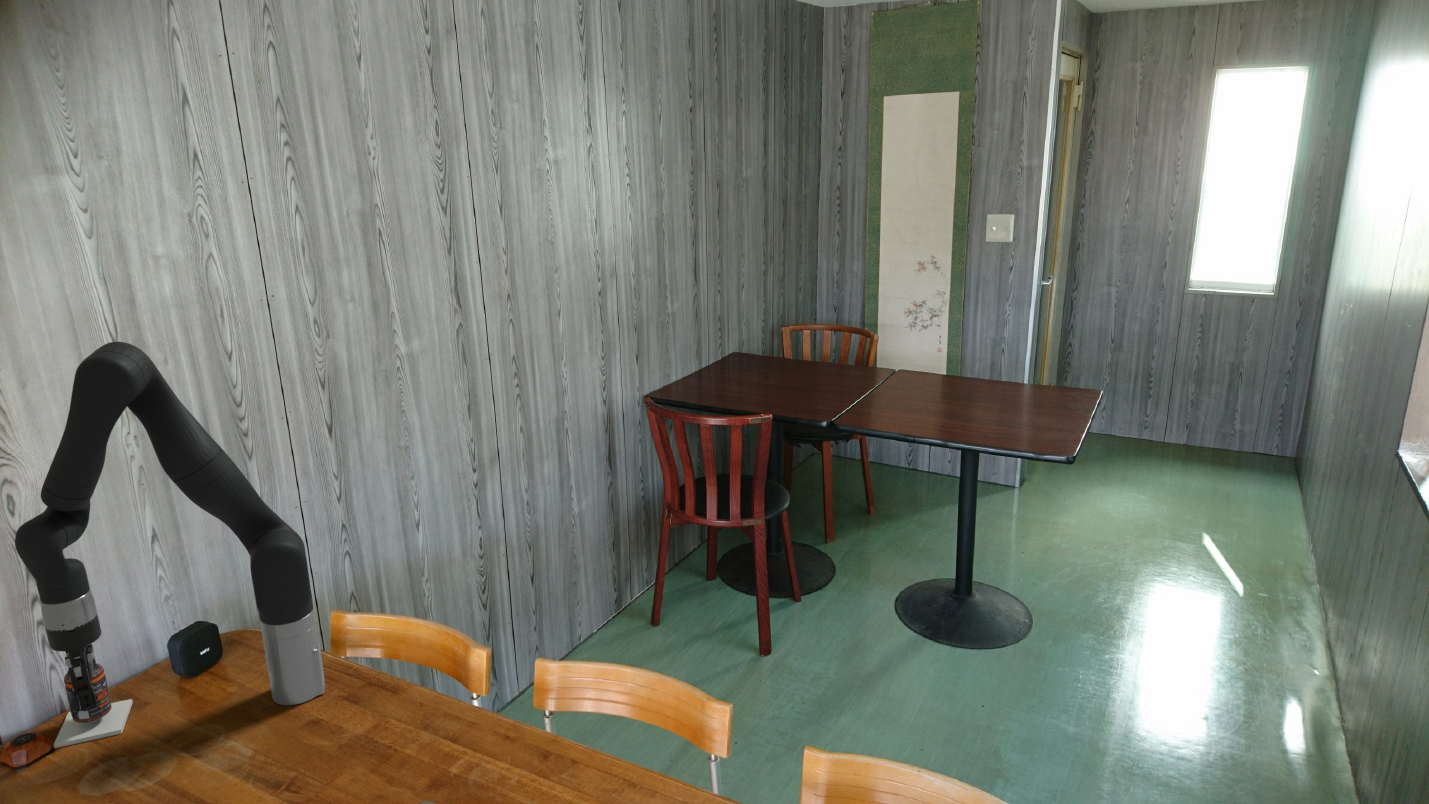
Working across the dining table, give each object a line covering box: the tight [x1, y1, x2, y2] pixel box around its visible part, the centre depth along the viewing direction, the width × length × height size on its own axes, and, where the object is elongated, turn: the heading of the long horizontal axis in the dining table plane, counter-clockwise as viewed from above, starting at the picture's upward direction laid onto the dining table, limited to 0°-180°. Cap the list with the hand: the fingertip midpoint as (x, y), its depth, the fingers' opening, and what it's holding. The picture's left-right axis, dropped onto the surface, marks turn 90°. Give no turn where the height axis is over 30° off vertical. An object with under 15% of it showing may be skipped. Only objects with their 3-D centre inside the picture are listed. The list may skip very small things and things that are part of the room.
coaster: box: [53, 698, 134, 749], centre depth 156 cm, size 10×10×1 cm
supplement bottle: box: [63, 654, 112, 723], centre depth 154 cm, size 6×6×11 cm
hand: (90, 699), depth 154 cm, fingers closed on supplement bottle, 6 cm apart
